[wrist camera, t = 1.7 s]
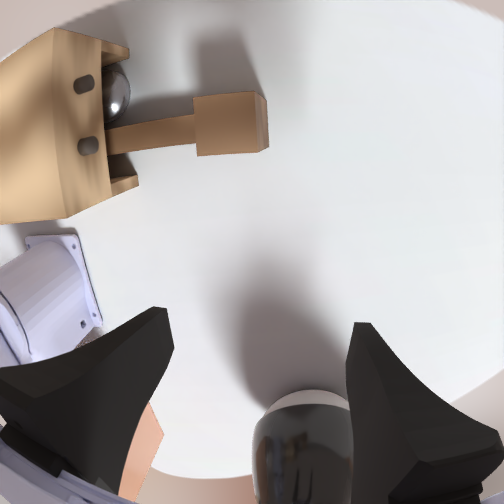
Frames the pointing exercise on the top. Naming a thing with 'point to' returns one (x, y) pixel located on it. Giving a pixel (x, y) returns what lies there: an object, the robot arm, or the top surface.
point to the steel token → (114, 95)
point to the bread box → (55, 128)
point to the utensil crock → (140, 454)
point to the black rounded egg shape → (304, 450)
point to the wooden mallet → (201, 127)
